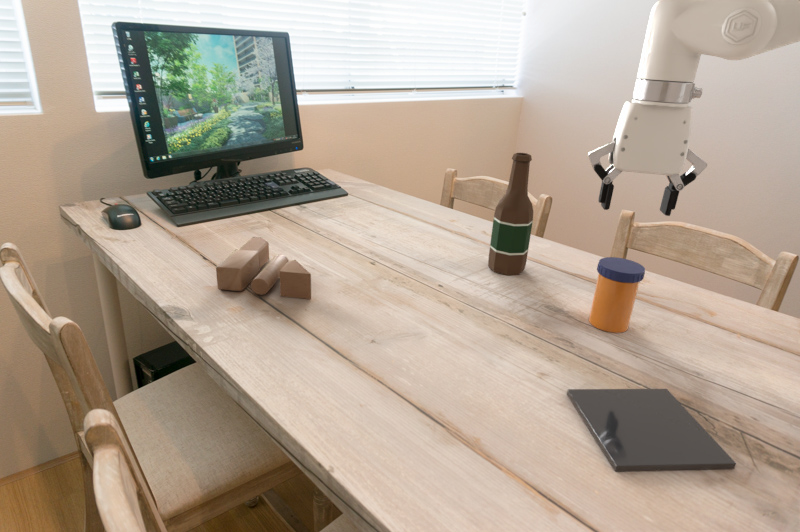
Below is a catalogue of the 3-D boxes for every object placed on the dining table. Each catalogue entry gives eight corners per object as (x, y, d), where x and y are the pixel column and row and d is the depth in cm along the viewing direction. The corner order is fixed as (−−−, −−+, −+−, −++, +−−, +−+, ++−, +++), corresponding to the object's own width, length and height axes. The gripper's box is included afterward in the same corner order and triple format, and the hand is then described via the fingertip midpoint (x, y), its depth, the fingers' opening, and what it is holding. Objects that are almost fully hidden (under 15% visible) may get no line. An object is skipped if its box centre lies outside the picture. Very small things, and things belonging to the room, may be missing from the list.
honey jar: (623, 317, 93) (637, 262, 89) (632, 335, 87) (646, 277, 83) (586, 312, 94) (597, 258, 90) (591, 329, 88) (604, 272, 84)
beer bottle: (487, 260, 115) (501, 149, 106) (523, 264, 114) (540, 152, 105) (487, 273, 108) (502, 155, 99) (526, 277, 107) (545, 159, 98)
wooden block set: (212, 262, 91) (250, 230, 107) (214, 292, 93) (252, 256, 109) (308, 271, 89) (332, 237, 106) (309, 301, 91) (332, 263, 108)
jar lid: (637, 268, 90) (639, 259, 89) (648, 285, 83) (650, 276, 82) (593, 263, 91) (595, 255, 90) (600, 279, 84) (603, 270, 83)
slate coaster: (665, 393, 72) (666, 388, 72) (734, 469, 59) (736, 463, 59) (566, 394, 70) (567, 389, 70) (615, 471, 58) (616, 465, 57)
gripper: (715, 96, 78) (685, 209, 85) (594, 88, 81) (574, 199, 87) (736, 100, 72) (701, 223, 78) (603, 91, 74) (580, 211, 80)
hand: (634, 210), depth 83 cm, fingers open, 8 cm apart
